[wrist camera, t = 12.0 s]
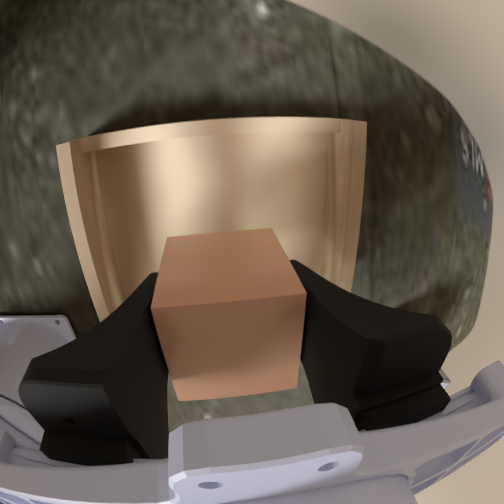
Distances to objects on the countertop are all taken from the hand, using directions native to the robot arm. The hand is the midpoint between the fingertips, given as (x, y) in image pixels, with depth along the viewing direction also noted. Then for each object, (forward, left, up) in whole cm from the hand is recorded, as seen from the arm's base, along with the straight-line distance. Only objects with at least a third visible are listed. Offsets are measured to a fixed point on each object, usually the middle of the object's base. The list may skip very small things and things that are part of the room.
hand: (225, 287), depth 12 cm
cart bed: (0, 0, -8) cm, 8 cm away
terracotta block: (0, -1, -2) cm, 2 cm away
